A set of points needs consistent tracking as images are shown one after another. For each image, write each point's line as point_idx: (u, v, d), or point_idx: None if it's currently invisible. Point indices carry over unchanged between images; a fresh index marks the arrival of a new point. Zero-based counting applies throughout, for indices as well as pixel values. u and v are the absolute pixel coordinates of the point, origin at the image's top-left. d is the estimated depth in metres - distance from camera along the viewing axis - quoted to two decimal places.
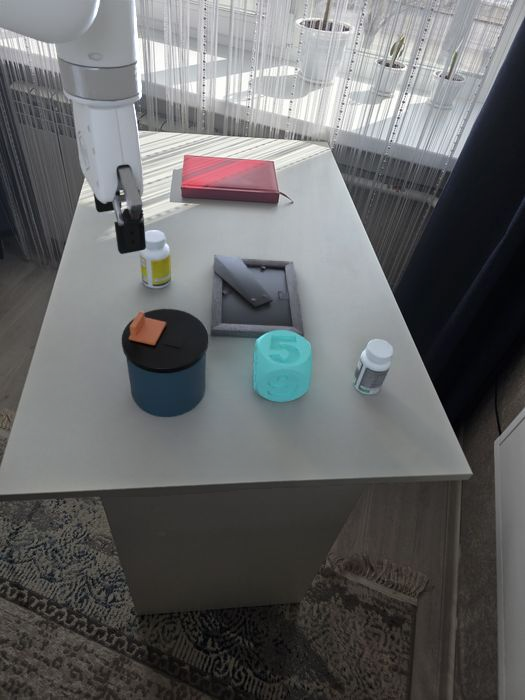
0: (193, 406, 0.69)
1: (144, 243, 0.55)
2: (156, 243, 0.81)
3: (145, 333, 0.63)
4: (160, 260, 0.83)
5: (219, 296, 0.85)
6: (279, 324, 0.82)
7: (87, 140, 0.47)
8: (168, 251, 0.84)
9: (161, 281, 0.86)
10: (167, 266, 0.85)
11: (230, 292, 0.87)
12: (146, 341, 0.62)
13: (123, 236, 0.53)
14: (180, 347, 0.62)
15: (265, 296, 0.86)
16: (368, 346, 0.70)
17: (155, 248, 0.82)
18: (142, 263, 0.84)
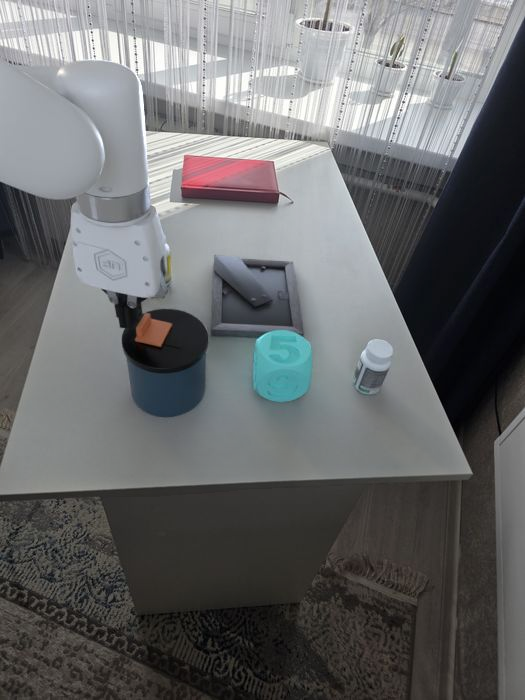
0: (193, 406, 0.69)
1: None
2: None
3: (151, 334, 0.63)
4: None
5: (219, 296, 0.85)
6: (279, 324, 0.82)
7: (131, 253, 0.51)
8: (168, 251, 0.84)
9: None
10: (167, 266, 0.85)
11: (230, 292, 0.87)
12: (152, 342, 0.62)
13: (131, 315, 0.61)
14: (180, 347, 0.62)
15: (265, 296, 0.86)
16: (368, 346, 0.70)
17: None
18: None
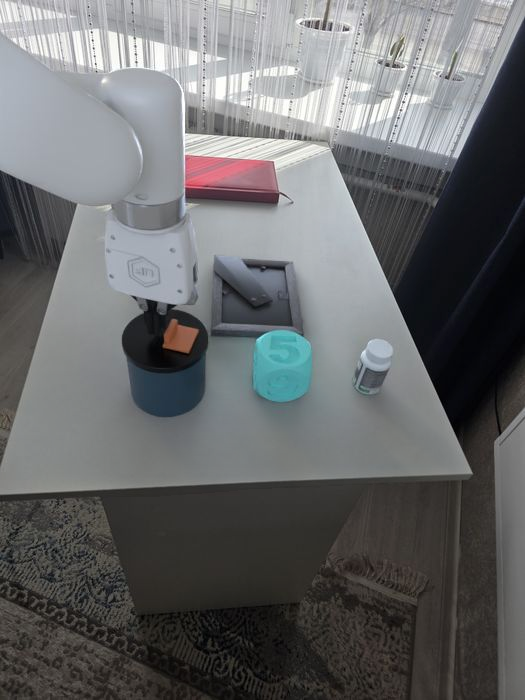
0: (193, 406, 0.69)
1: None
2: None
3: (179, 341, 0.62)
4: None
5: (219, 296, 0.85)
6: (279, 324, 0.82)
7: (165, 260, 0.51)
8: None
9: None
10: None
11: (230, 292, 0.87)
12: (180, 349, 0.61)
13: (160, 321, 0.60)
14: None
15: (265, 296, 0.86)
16: (368, 346, 0.70)
17: None
18: None
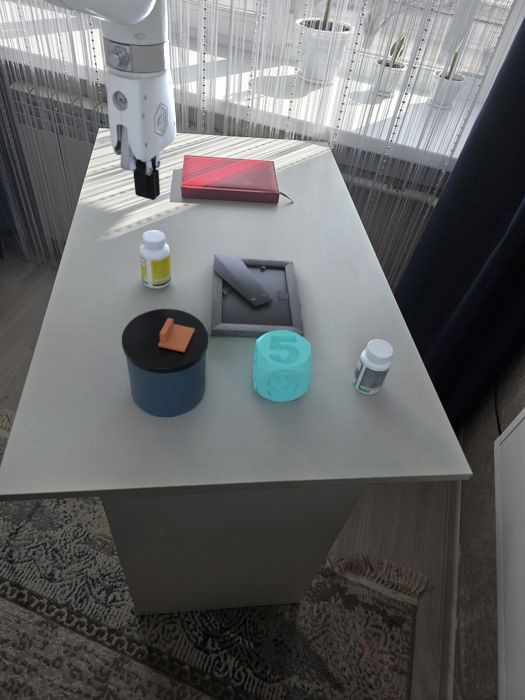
0: (193, 406, 0.69)
1: None
2: (156, 243, 0.81)
3: (174, 340, 0.62)
4: (160, 260, 0.83)
5: (219, 296, 0.85)
6: (279, 324, 0.82)
7: (169, 96, 0.61)
8: (168, 251, 0.84)
9: (161, 281, 0.86)
10: (167, 266, 0.85)
11: (230, 292, 0.87)
12: (176, 348, 0.61)
13: None
14: None
15: (265, 296, 0.86)
16: (368, 346, 0.70)
17: (155, 248, 0.82)
18: (142, 263, 0.84)
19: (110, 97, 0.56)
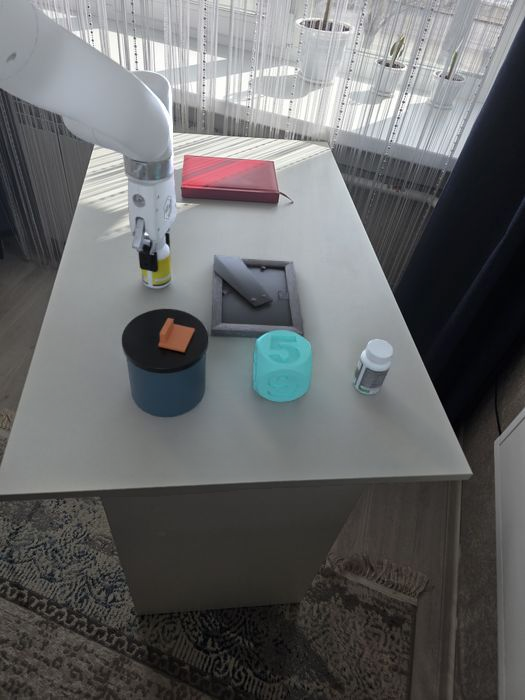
0: (193, 406, 0.69)
1: None
2: (156, 243, 0.81)
3: (174, 340, 0.62)
4: (160, 260, 0.83)
5: (219, 295, 0.85)
6: (279, 324, 0.82)
7: (172, 188, 0.78)
8: (168, 251, 0.84)
9: (161, 281, 0.86)
10: (167, 266, 0.85)
11: (230, 292, 0.87)
12: (176, 348, 0.61)
13: None
14: None
15: (265, 296, 0.86)
16: (368, 346, 0.70)
17: (155, 248, 0.82)
18: None
19: (130, 198, 0.72)
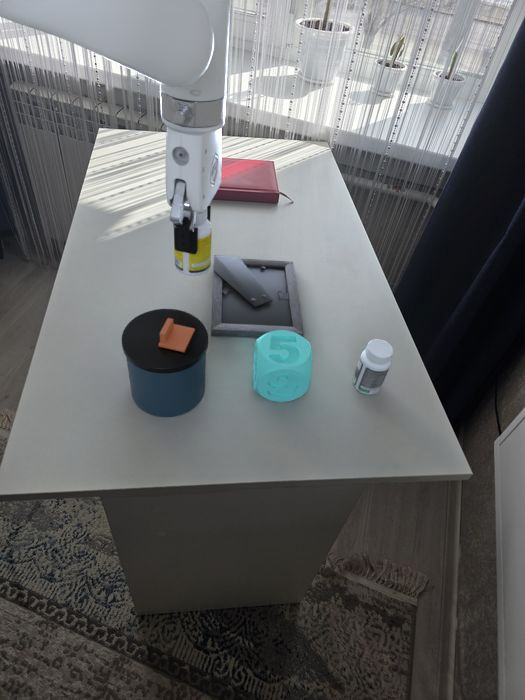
0: (193, 406, 0.69)
1: None
2: (197, 217, 0.63)
3: (174, 340, 0.62)
4: (200, 239, 0.65)
5: (219, 296, 0.85)
6: (279, 324, 0.82)
7: (219, 144, 0.60)
8: (210, 228, 0.66)
9: (200, 266, 0.68)
10: (208, 247, 0.67)
11: (230, 292, 0.87)
12: (176, 348, 0.61)
13: None
14: None
15: (265, 296, 0.86)
16: (368, 346, 0.70)
17: None
18: None
19: (169, 152, 0.55)
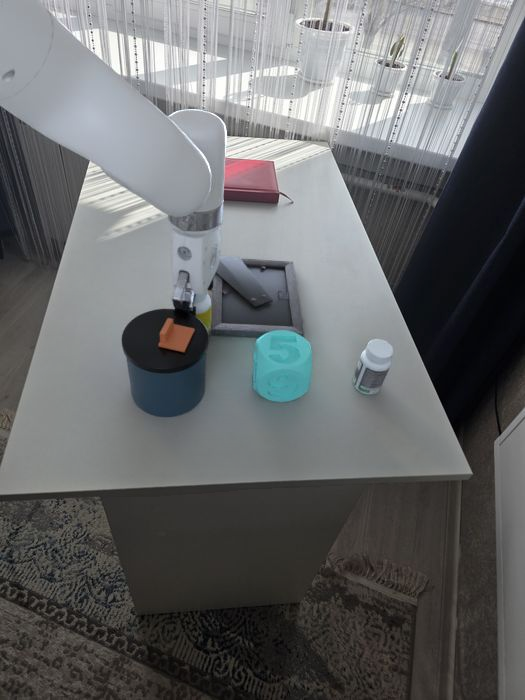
0: (193, 406, 0.69)
1: None
2: (198, 296, 0.72)
3: (174, 340, 0.62)
4: (201, 313, 0.74)
5: (219, 296, 0.85)
6: (279, 324, 0.82)
7: (218, 235, 0.69)
8: (209, 303, 0.75)
9: None
10: (208, 318, 0.77)
11: (230, 292, 0.87)
12: (176, 348, 0.61)
13: None
14: None
15: (265, 296, 0.86)
16: (368, 346, 0.70)
17: (196, 301, 0.73)
18: None
19: (175, 250, 0.64)
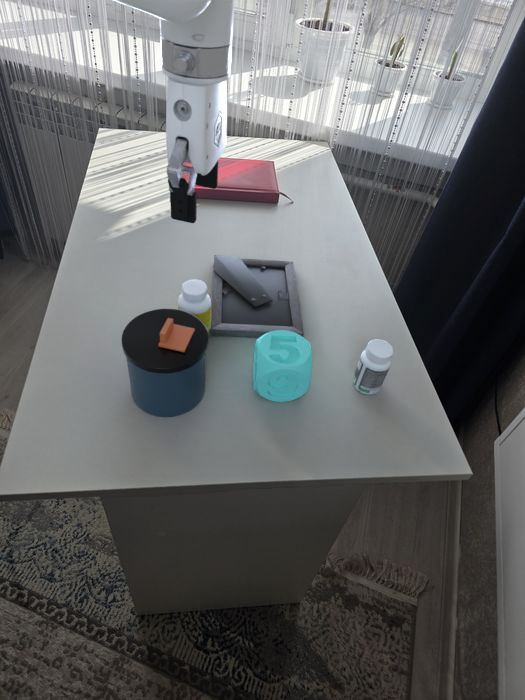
0: (193, 406, 0.69)
1: None
2: (198, 296, 0.72)
3: (174, 340, 0.62)
4: (201, 313, 0.74)
5: (219, 296, 0.85)
6: (279, 324, 0.82)
7: (224, 102, 0.56)
8: (209, 303, 0.75)
9: None
10: (208, 318, 0.77)
11: (230, 292, 0.87)
12: (176, 348, 0.61)
13: None
14: None
15: (265, 296, 0.86)
16: (368, 346, 0.70)
17: (196, 301, 0.73)
18: None
19: (170, 106, 0.50)
